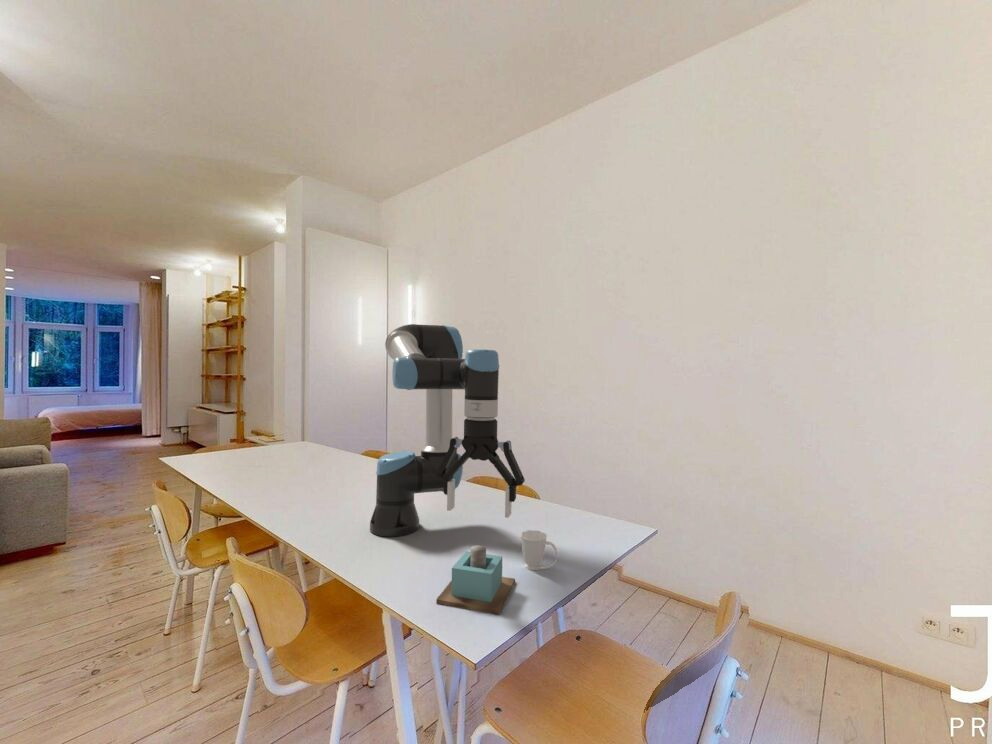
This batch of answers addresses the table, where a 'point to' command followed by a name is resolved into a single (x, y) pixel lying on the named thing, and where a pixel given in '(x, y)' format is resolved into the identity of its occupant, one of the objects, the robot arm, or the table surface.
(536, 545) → the cup
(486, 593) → the collar
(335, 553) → the table surface
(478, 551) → the post stand
